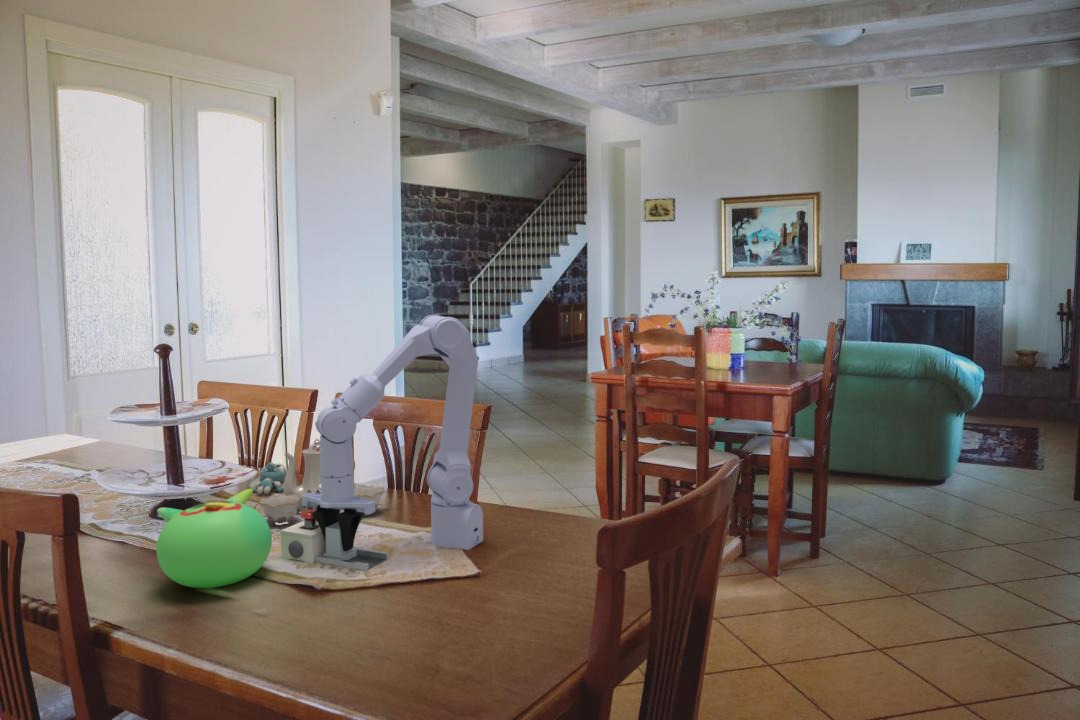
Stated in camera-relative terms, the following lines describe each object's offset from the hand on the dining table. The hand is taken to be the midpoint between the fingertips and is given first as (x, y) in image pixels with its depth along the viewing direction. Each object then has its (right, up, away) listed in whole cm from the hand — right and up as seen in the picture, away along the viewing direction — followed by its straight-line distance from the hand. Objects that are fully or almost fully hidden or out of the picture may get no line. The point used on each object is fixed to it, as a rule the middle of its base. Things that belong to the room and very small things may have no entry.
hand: (339, 548), depth 151 cm
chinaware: (-11, 0, +31) cm, 33 cm away
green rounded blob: (-19, -4, -9) cm, 21 cm away
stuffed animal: (-29, +2, +51) cm, 59 cm away
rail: (+2, -3, -1) cm, 4 cm away
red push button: (-6, +1, +2) cm, 7 cm away
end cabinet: (-6, -3, +3) cm, 7 cm away
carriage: (0, -2, 0) cm, 2 cm away
